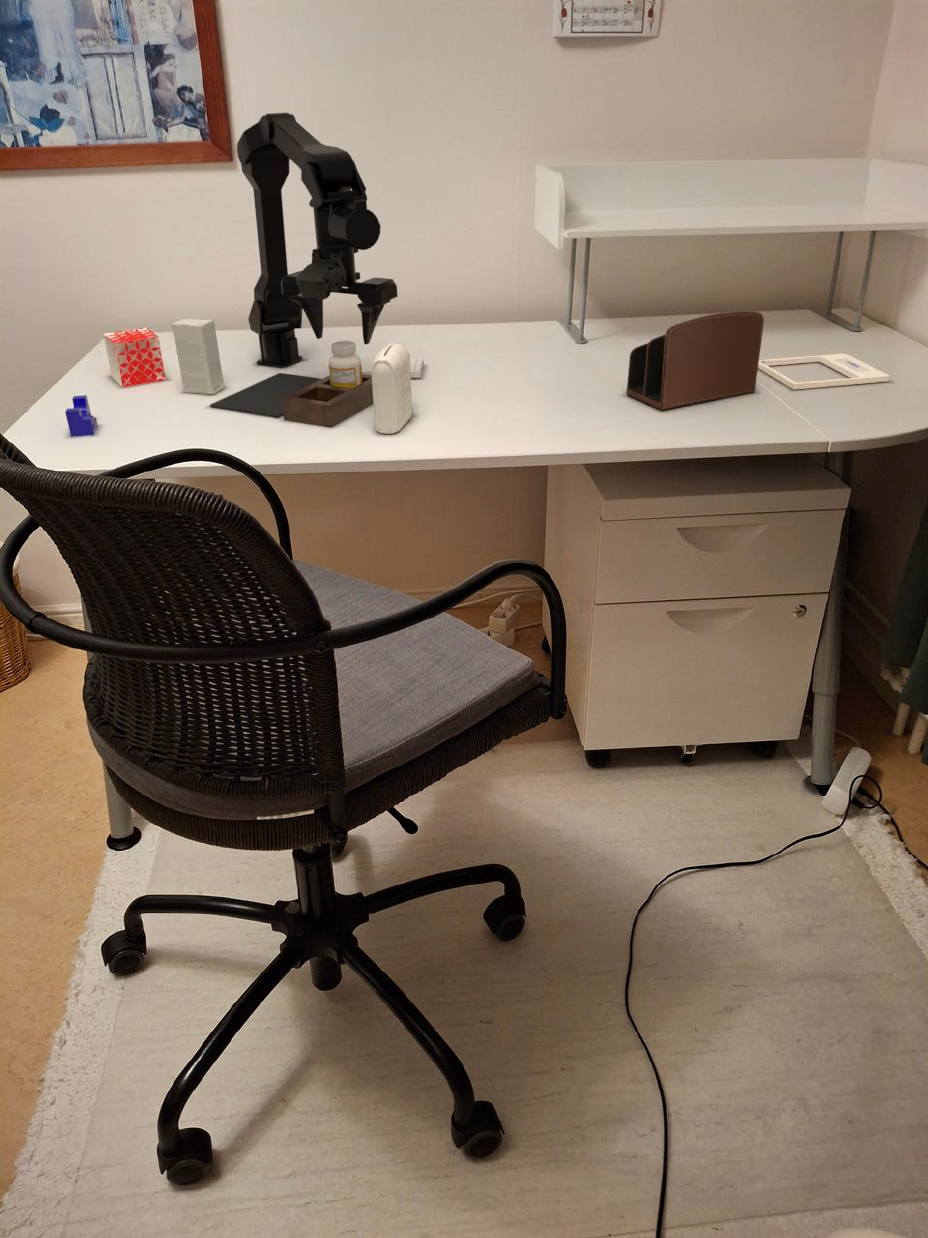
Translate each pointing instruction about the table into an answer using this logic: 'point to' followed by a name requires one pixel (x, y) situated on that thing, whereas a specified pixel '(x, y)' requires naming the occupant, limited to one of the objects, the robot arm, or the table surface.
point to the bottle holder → (327, 402)
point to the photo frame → (839, 362)
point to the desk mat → (265, 395)
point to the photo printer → (391, 388)
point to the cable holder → (81, 418)
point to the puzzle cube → (135, 357)
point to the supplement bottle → (345, 365)
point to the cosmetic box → (198, 356)
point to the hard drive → (415, 367)
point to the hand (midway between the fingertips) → (343, 340)
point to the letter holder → (698, 361)
